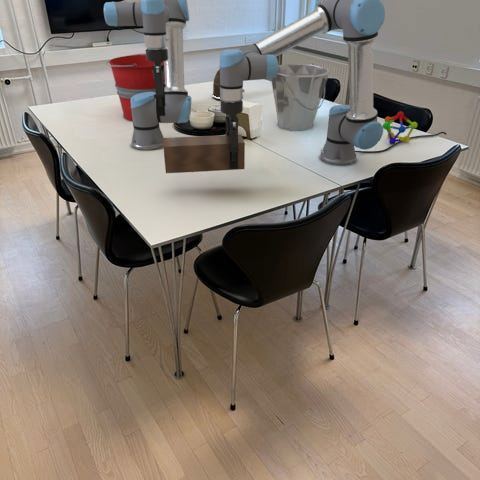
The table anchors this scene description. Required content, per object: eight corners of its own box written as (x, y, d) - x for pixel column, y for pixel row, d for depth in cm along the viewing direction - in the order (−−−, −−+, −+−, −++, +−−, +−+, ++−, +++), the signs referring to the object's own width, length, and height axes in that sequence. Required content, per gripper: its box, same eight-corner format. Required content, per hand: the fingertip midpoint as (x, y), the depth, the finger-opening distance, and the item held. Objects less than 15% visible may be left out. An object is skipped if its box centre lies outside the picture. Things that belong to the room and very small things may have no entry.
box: (165, 173, 154) (163, 146, 149) (165, 163, 161) (163, 137, 156) (244, 169, 157) (244, 142, 152) (240, 159, 165) (241, 134, 159)
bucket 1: (123, 106, 262) (116, 51, 247) (182, 106, 262) (178, 52, 246) (106, 123, 233) (97, 63, 217) (172, 124, 232) (168, 64, 216)
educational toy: (377, 146, 209) (379, 114, 202) (384, 138, 219) (386, 107, 211) (411, 149, 202) (415, 116, 195) (417, 141, 212) (420, 109, 204)
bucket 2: (296, 138, 215) (301, 78, 201) (255, 124, 234) (256, 68, 219) (335, 125, 232) (342, 70, 217) (294, 113, 251) (297, 61, 236)
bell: (227, 105, 294) (202, 96, 282) (238, 66, 289) (213, 55, 277) (243, 108, 280) (217, 98, 268) (255, 66, 275) (229, 55, 263)
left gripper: (167, 53, 141) (172, 119, 152) (167, 43, 163) (171, 101, 174) (143, 53, 141) (150, 120, 152) (146, 43, 162) (152, 102, 173)
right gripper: (247, 108, 139) (246, 174, 151) (238, 91, 158) (238, 152, 170) (224, 109, 138) (225, 175, 150) (217, 92, 157) (218, 152, 169)
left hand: (161, 110), depth 163 cm, fingers open, 13 cm apart
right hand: (232, 163), depth 160 cm, fingers closed on box, 9 cm apart
